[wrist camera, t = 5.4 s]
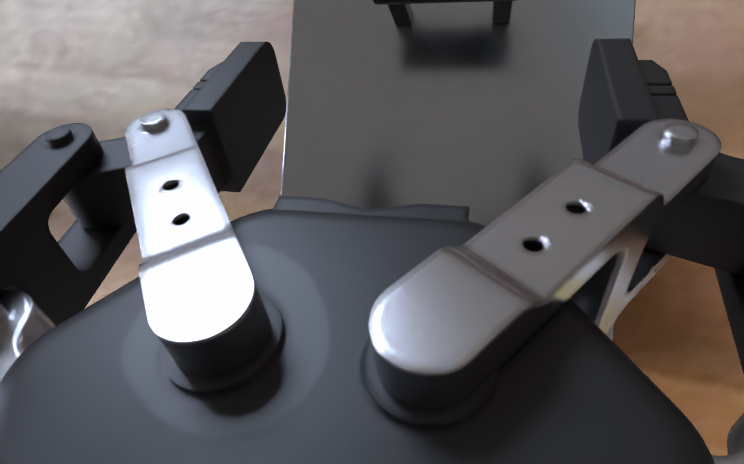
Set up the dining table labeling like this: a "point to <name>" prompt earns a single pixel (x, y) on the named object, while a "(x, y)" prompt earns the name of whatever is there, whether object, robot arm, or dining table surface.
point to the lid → (438, 98)
